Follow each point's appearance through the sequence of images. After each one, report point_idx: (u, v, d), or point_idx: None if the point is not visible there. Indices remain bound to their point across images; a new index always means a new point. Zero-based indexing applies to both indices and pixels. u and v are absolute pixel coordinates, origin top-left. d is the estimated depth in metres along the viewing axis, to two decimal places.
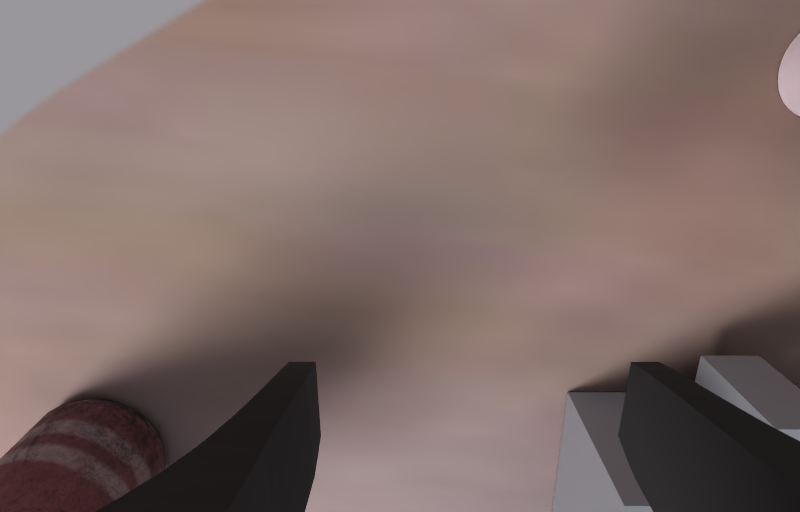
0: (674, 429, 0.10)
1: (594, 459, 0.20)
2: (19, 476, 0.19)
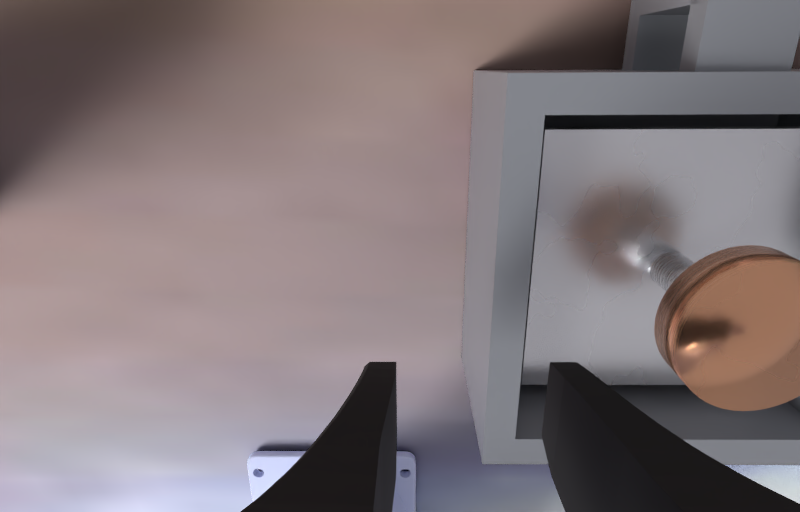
0: (579, 429, 0.10)
1: (489, 89, 0.15)
2: None
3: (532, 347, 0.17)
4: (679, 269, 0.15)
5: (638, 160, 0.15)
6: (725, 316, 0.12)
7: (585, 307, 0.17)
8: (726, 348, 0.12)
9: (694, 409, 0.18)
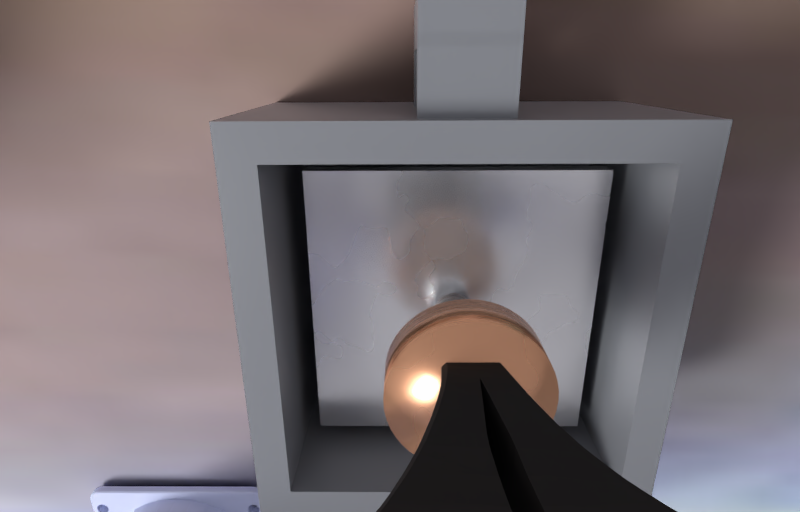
0: (488, 429, 0.10)
1: None
2: None
3: (325, 388, 0.17)
4: None
5: (403, 201, 0.15)
6: (425, 375, 0.11)
7: (373, 348, 0.16)
8: None
9: None
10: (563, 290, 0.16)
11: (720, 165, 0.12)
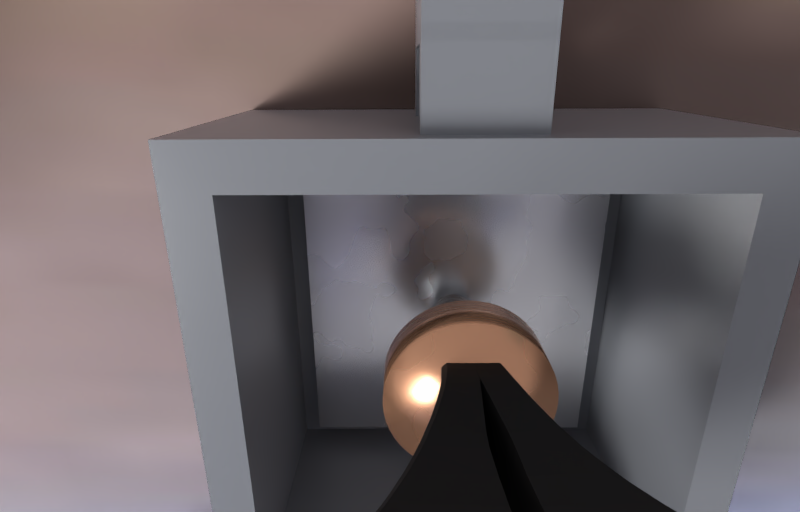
0: (488, 429, 0.10)
1: None
2: None
3: (325, 389, 0.17)
4: None
5: (403, 202, 0.15)
6: (425, 377, 0.11)
7: (372, 350, 0.16)
8: None
9: None
10: (563, 291, 0.16)
11: None
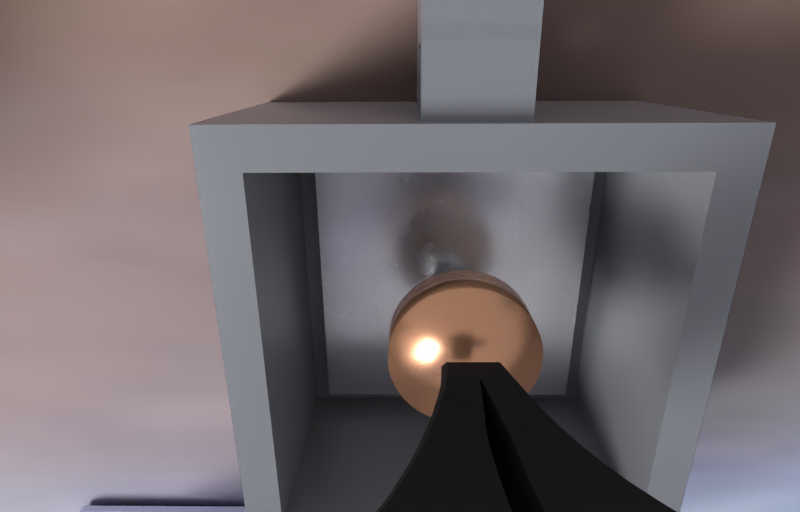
0: (488, 428, 0.10)
1: None
2: None
3: (334, 359, 0.19)
4: None
5: (406, 185, 0.16)
6: (425, 336, 0.13)
7: (377, 322, 0.18)
8: (432, 366, 0.13)
9: None
10: (551, 268, 0.17)
11: (760, 173, 0.11)
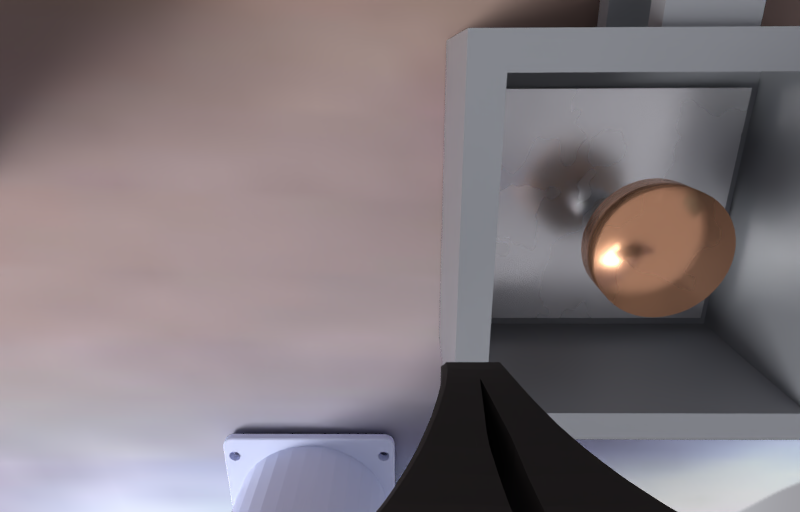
0: (489, 429, 0.10)
1: (456, 53, 0.15)
2: None
3: None
4: None
5: (575, 115, 0.18)
6: (632, 233, 0.15)
7: (534, 247, 0.20)
8: (634, 261, 0.15)
9: (670, 384, 0.17)
10: None
11: None
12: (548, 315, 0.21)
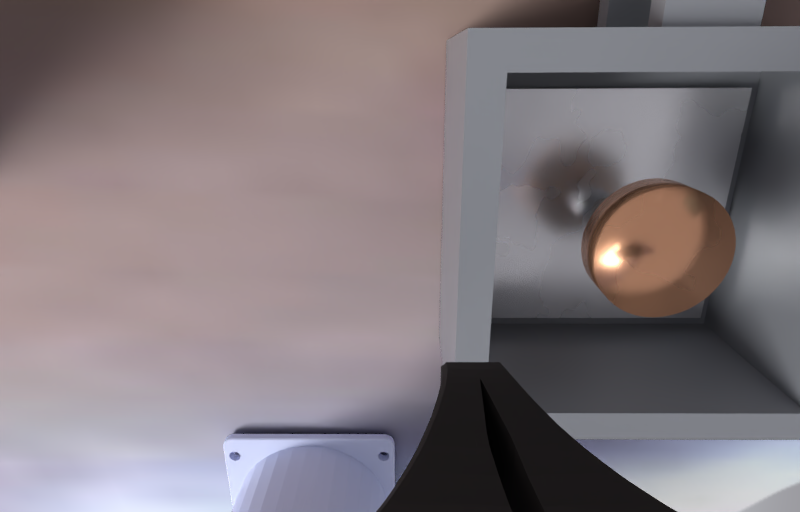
0: (489, 429, 0.10)
1: (456, 53, 0.15)
2: None
3: None
4: None
5: (575, 115, 0.18)
6: (632, 233, 0.15)
7: (534, 247, 0.20)
8: (634, 261, 0.15)
9: (670, 384, 0.17)
10: None
11: None
12: (548, 315, 0.21)
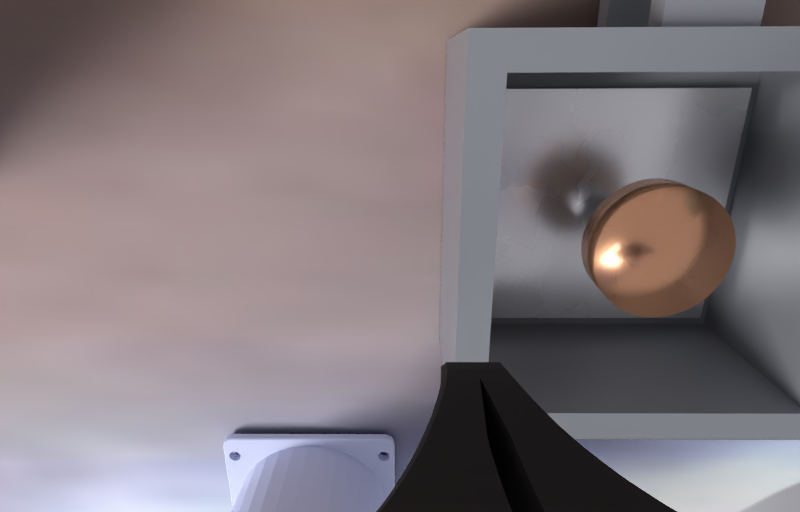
0: (489, 429, 0.10)
1: (456, 53, 0.15)
2: None
3: None
4: None
5: (575, 115, 0.18)
6: (632, 233, 0.15)
7: (534, 247, 0.20)
8: (634, 261, 0.15)
9: (670, 384, 0.17)
10: None
11: None
12: (548, 315, 0.21)
